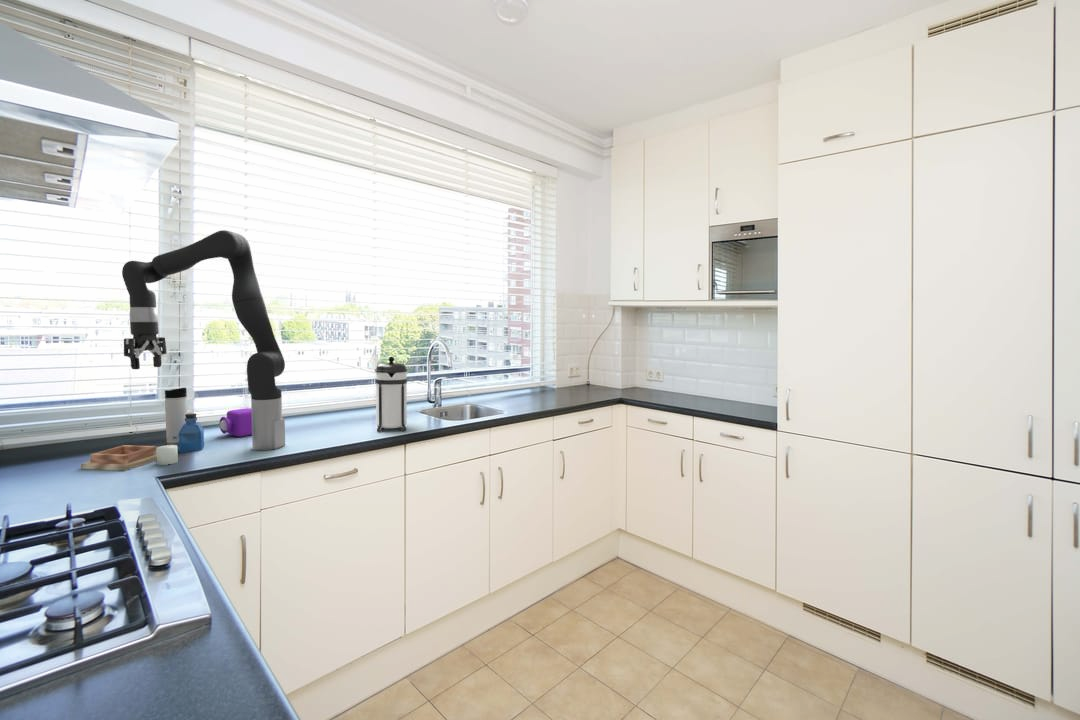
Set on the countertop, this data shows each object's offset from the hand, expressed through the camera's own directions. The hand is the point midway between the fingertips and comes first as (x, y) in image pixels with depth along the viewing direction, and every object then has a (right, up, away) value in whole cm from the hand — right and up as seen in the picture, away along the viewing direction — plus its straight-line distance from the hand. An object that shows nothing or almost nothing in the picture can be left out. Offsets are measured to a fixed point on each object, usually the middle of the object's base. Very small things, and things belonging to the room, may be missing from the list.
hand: (146, 368), depth 171 cm
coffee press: (+73, -26, +35) cm, 85 cm away
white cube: (+21, -29, -18) cm, 40 cm away
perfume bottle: (+17, -28, -2) cm, 33 cm away
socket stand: (+9, -29, -20) cm, 36 cm away
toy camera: (+21, -26, +19) cm, 39 cm away
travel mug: (+7, -27, +5) cm, 28 cm away
